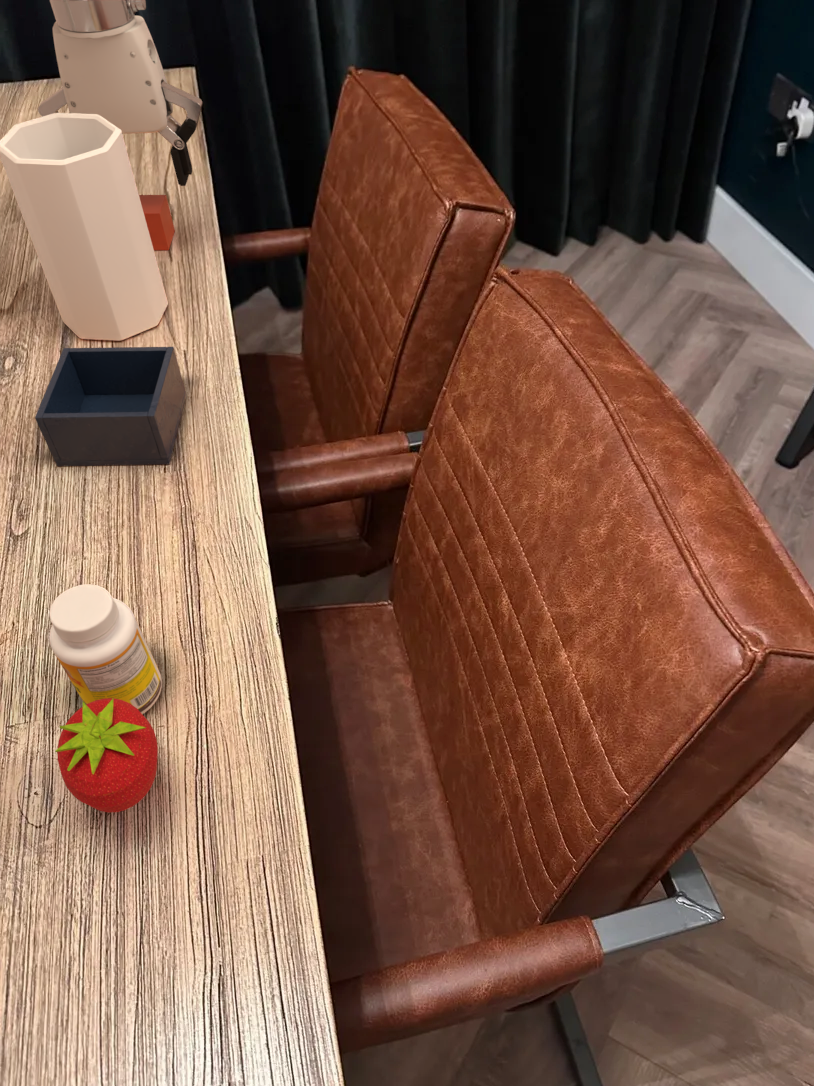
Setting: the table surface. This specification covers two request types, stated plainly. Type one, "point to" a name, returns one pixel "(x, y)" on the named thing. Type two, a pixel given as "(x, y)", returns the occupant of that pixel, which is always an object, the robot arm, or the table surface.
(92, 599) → the supplement bottle
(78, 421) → the navy tray box
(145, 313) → the cup
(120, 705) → the strawberry
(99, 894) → the table surface
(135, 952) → the table surface
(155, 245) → the red block
